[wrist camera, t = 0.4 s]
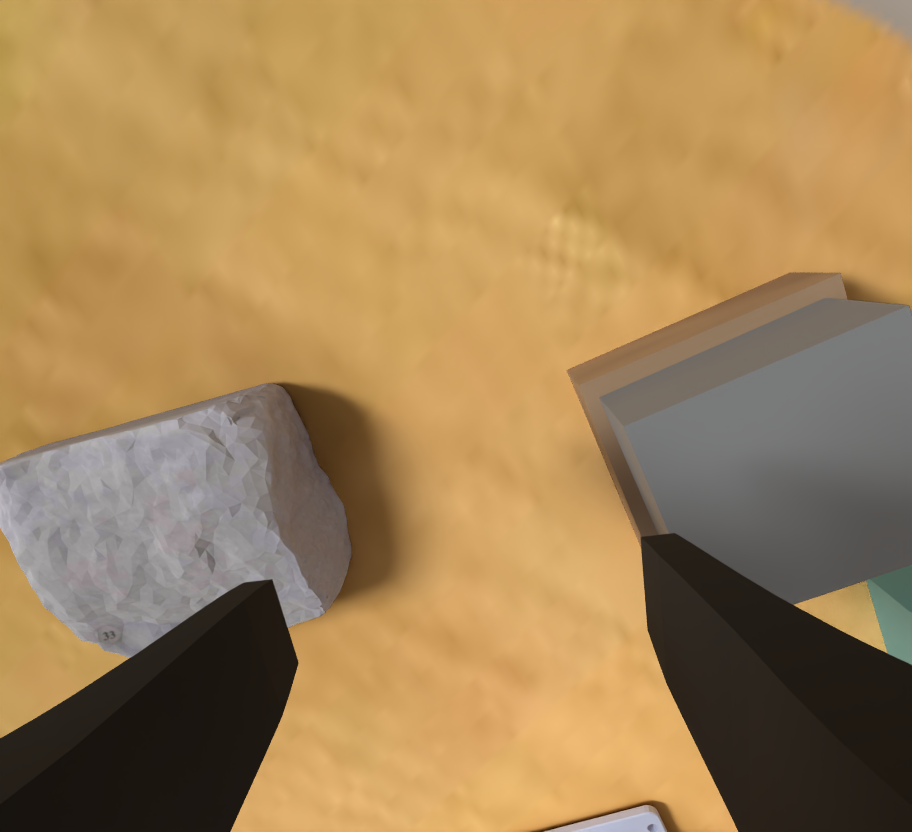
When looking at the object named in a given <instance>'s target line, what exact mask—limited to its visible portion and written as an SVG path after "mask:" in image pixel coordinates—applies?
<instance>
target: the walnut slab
mask: <svg viewBox="0 0 912 832" xmlns="http://www.w3.org/2000/svg"><path fill="white" fill-rule="evenodd" d="M824 298H833V299H844V300H848V299H847V295H846V292H845V288H844V284H843V280H842V276H841V273H788V274H786V275H784V276H781V277H779V278H777V279H775V280H772V281H770V282H768V283H765V284H763V285H761V286H758V287H756V288H754V289H752V290H749V291H747V292H745V293H742V294H740V295H738V296H736V297H733V298H731V299H729V300H726V301H724V302H722V303H720V304H717V305H715V306H713V307H710V308H708V309H706V310H704V311H701V312H699V313H697V314H694V315H692V316H690V317H687V318H685V319H683V320H681V321H678V322H676V323H674V324H671V325H669V326H667V327H665V328H662V329H660V330H658V331H655V332H653V333H651V334H649V335H646V336H644V337H642V338H639V339H637V340H635V341H632V342H630V343H628V344H626V345H623V346H621V347H619V348H616V349H614V350H612V351H610V352H607V353H605V354H603V355H600V356H598V357H596V358H594V359H591V360H589V361H587V362H584V363H582V364H580V365H578V366H575V367H573V368H571V369H568V370H567V372H568V375H569V377H570V379H571V382H572V384H573V386H574V389H575V391H576V394H577V396H578V398H579V401H580V403H581V406H582V408H583V410H584V413H585V415H586V417H587V420H588V422H589V425H590V427H591V429H592V432H593V434H594V437H595V439H596V441H597V444H598V446H599V448H600V451H601V453H602V456H603V458H604V460H605V463H606V465H607V468H608V470H609V472H610V475H611V477H612V479H613V482H614V484H615V487H616V489H617V491H618V494H619V496H620V499H621V501H622V503H623V506H624V508H625V510H626V513H627V515H628V518H629V520H630V522H631V525H632V527H633V530H634V532H635V534H636V537H637V539H638V541H639V544H640V546H641V537H644V536H653V535H658V533H657V531H656V529H655V526H654V524H653V522H652V519H651V517H650V515H649V512H648V510H647V508H646V505H645V503H644V501H643V498H642V496H641V494H640V491H639V489H638V487H637V484H636V482H635V480H634V478H633V475H632V473H631V471H630V468H629V466H628V464H627V461H626V459H625V457H624V454H623V452H622V450H621V447H620V445H619V443H618V440H617V438H616V436H615V433H614V431H613V429H612V427H611V424H610V422H609V420H608V417H607V415H606V413H605V410H604V408H603V406H602V403H601V401H600V399H599V397H601V396H604V395H606V394H608V393H610V392H613V391H615V390H617V389H619V388H622V387H624V386H626V385H629V384H631V383H633V382H635V381H638V380H640V379H642V378H644V377H647V376H649V375H651V374H654V373H656V372H658V371H660V370H663V369H665V368H667V367H669V366H672V365H674V364H676V363H679V362H681V361H683V360H685V359H688V358H690V357H692V356H694V355H697V354H699V353H701V352H704V351H706V350H708V349H710V348H713V347H715V346H717V345H719V344H722V343H724V342H726V341H729V340H731V339H733V338H735V337H738V336H740V335H742V334H744V333H747V332H749V331H751V330H754V329H756V328H758V327H760V326H763V325H765V324H767V323H769V322H772V321H774V320H776V319H779V318H781V317H783V316H785V315H788V314H790V313H792V312H794V311H797V310H799V309H801V308H803V307H806V306H808V305H810V304H813V303H815V302H817V301H819V300H822V299H824Z"/></svg>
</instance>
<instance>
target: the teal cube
mask: <svg viewBox="0 0 912 832" xmlns="http://www.w3.org/2000/svg"><path fill="white" fill-rule="evenodd" d="M866 581H867V584H868V588H869V591H870V595H871V598H872V601H873V605H874V608H875V612H876V615H877V619H878V622H879V625H880V629H881V632H882V636H883V639H884V643H885V646H886V649H887V653H888V654H890V655H892V656H894V657H896V658H898V659H900V660H903V661H905V662H907V663H909V664H911V665H912V565H910V566H907V567H904V568H901V569H898V570H895V571H892V572H889V573H886V574H883V575H880V576H877V577H874V578H871V579H868V580H866Z"/></svg>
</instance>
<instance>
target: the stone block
mask: <svg viewBox="0 0 912 832" xmlns="http://www.w3.org/2000/svg"><path fill="white" fill-rule="evenodd" d="M0 528H1V530H2V532H3V533H4V535H5V536H6V538H7V539H8V541H9V543H10V545H11V548H12V551H13V553H14V555H15V557H16V560H17V562H18V564H19V566H20V568H21V569H22V571H23V572H24V574H25V575H26V577H27V579H28V581H29V583H30V585H31V587H32V589H33V590H35V591H36V593H37V595H38V597H39V599H40V600H41V602H42V604H43V606H44V607H45V608H46V609H47V610H49V611H50V612H51V613H52V614H54V615H55V616H56V617H57V618H58V619H59V620H60V621H61V622H62V623H64V624H65V625H66V626H68V627H69V628H70V629H71V630H72V632H73V633H74V634H75V635H76V636H77V637H78V638H79V639H80V640H81V641H86V642H91V643H96V644H98V645H99V646H100V647H101V648H102V649H103V650H104V651H107V652H111V653H116V654H119V655H123V656H126V657H129V658H131V657H132V656H134V655H135V654H137V653H138V652H140V651H141V650H143V649H144V648H146V647H147V646H148V645H150V644H151V643H153V642H154V641H156V640H157V639H159V638H160V637H162V636H163V635H164V634H166V633H167V632H169V631H170V630H172V629H173V628H175V627H176V626H177V625H179V624H180V623H182V622H183V621H185V620H186V619H188V618H189V617H190V616H192V615H193V614H195V613H196V612H198V611H199V610H201V609H202V608H204V607H205V606H207V605H208V604H210V603H211V602H213V601H214V600H216V599H217V598H219V597H220V596H222V595H223V594H225V593H226V592H228V591H230V590H231V589H233V588H235V587H237V586H238V585H240V584H242V583H244V582H252V581H261V580H269V579H273V583H274V586H275V589H276V592H277V595H278V599H279V602H280V605H281V608H282V611H283V615H284V618H285V621H286V624H287V627H291V626H293V625H295V624H298V623H301V622H305V621H308V620H311V619H313V618H316V617H320V616H321V615H323V614H324V613H326V610H327V609H329V608H330V607H331V604H332V603H333V602H334V600H335V599H336V597H337V595H338V594H339V592H340V591H341V588H342V585H343V584H344V580H345V577H346V575H347V571H348V567H349V562H350V559H351V557H352V550H351V542H350V539H349V534H348V527H347V516H346V514H345V508H344V504H343V503H342V502H341V500H340V499H339V497H338V495H337V494H336V492H335V490H334V489H333V487H332V485H331V484H330V482H329V477H328V476H327V474H326V473H325V472H324V471H323V470H322V469H321V468H320V467H319V465H318V463H317V460H316V457H315V455H314V453H313V449H312V443H311V441H310V439H309V434H308V432H307V430H306V428H305V426H304V424H303V422H302V420H301V418H300V416H299V414H298V412H297V411H296V409H295V407H294V405H293V402H292V399H291V397H290V396H289V394H288V393H287V392H286V390H285V389H284V388H283V387H281V386H279V385H277V384H273V383H266V384H262V385H259V386H256V387H252V388H248V389H245V390H241V391H237V392H234V393H230V394H227V395H223V396H220V397H216V398H213V399H209V400H206V401H202V402H199V403H195V404H191V405H188V406H184V407H181V408H177V409H174V410H170V411H166V412H163V413H159V414H156V415H152V416H149V417H145V418H142V419H138V420H134V421H131V422H128V423H124V424H121V425H118V426H114V427H111V428H107V429H103V430H100V431H96V432H92V433H88V434H84V435H80V436H77V437H74V438H69V439H66V440H63V441H59V442H55V443H51V444H48V445H45V446H41V447H39V448H36V449H33V450H30V451H27V452H24V453H21V454H19V455H17V456H16V457H13V458H10V459H8V460H6V461H3V462H1V463H0Z"/></svg>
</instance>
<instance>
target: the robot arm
mask: <svg viewBox="0 0 912 832" xmlns="http://www.w3.org/2000/svg"><path fill="white" fill-rule="evenodd" d="M641 550H642V563H643V576H644V589H645V602H646V615H647V628H648V632H649V635H650V638H651V641H652V644H653V647H654V650H655V652H656V655H657V658H658V661H659V664H660V667H661V669H662V672H663V675H664V678H665V680H666V683H667V685H668V687H669V689H670V692H671V694H672V696H673V698H674V700H675V702H676V704H677V706H678V708H679V710H680V712H681V714H682V717H683V719H684V721H685V723H686V725H687V727H688V729H689V731H690V733H691V735H692V737H693V739H694V741H695V743H696V745H697V747H698V749H699V751H700V754H701V756H702V758H703V760H704V762H705V764H706V766H707V768H708V770H709V772H710V774H711V776H712V778H713V780H714V782H715V784H716V786H717V788H718V790H719V792H720V794H721V796H722V799H723V801H724V803H725V805H726V807H727V809H728V811H729V813H730V815H731V817H732V819H733V821H734V823H735V825H736V828H737V830H738V832H912V665H911V664H909V663H907V662H905V661H903V660H900V659H898V658H896V657H894V656H892V655H890V654H887V653H885V652H883V651H881V650H879V649H877V648H875V647H872V646H870V645H868V644H866V643H864V642H862V641H860V640H858V639H856V638H854V637H852V636H850V635H848V634H846V633H844V632H842V631H840V630H838V629H837V628H835V627H833V626H831V625H829V624H827V623H825V622H823V621H822V620H820V619H818V618H816V617H814V616H812V615H810V614H809V613H807V612H805V611H803V610H801V609H799V608H797V607H796V606H794V605H792V604H790V603H789V602H787V601H785V600H783V599H782V598H780V597H778V596H776V595H775V594H773V593H771V592H770V591H768V590H766V589H764V588H763V587H761V586H759V585H758V584H756V583H754V582H753V581H751V580H750V579H748V578H746V577H745V576H743V575H741V574H740V573H738V572H736V571H735V570H733V569H732V568H730V567H728V566H727V565H725V564H724V563H722V562H721V561H719V560H717V559H716V558H714V557H713V556H711V555H710V554H708V553H706V552H705V551H703V550H702V549H700V548H699V547H697V546H695V545H694V544H692V543H691V542H689V541H687V540H686V539H684V538H683V537H681V536H679V535H677V534H676V533H670V534H661V535H653V536H644V537H641ZM297 666H298V660H297V656H296V653H295V650H294V647H293V644H292V640H291V637H290V634H289V631H288V627H287V624H286V621H285V618H284V615H283V611H282V608H281V605H280V602H279V599H278V595H277V592H276V589H275V586H274V583H273V579H269V580H261V581H252V582H244V583H242V584H240V585H238V586H237V587H235V588H233V589H231V590H230V591H228V592H226V593H225V594H223V595H222V596H220V597H219V598H217V599H216V600H214V601H213V602H211V603H210V604H208V605H207V606H205V607H204V608H202V609H201V610H199V611H198V612H196V613H195V614H193V615H192V616H190V617H189V618H188V619H186V620H185V621H183V622H182V623H180V624H179V625H177V626H176V627H175V628H173V629H172V630H170V631H169V632H167V633H166V634H164V635H163V636H162V637H160V638H159V639H157V640H156V641H154V642H153V643H151V644H150V645H148V646H147V647H146V648H144V649H143V650H141V651H140V652H138V653H137V654H135V655H134V656H132V657H131V658H129V659H128V660H126V661H125V662H123V663H122V664H120V665H119V666H117V667H116V668H114V669H112V670H111V671H109V672H108V673H106V674H105V675H103V676H102V677H100V678H99V679H97V680H96V681H94V682H93V683H91V684H90V685H88V686H87V687H85V688H84V689H82V690H80V691H79V692H77V693H76V694H74V695H73V696H71V697H70V698H68V699H66V700H65V701H63V702H62V703H60V704H58V705H57V706H55V707H53V708H52V709H50V710H48V711H47V712H45V713H43V714H42V715H40V716H38V717H37V718H35V719H33V720H32V721H30V722H28V723H27V724H25V725H23V726H21V727H20V728H18V729H16V730H14V731H13V732H11V733H9V734H7V735H6V736H4V737H2V738H0V832H230V831H231V829H232V827H233V824H234V822H235V820H236V818H237V816H238V813H239V811H240V809H241V807H242V805H243V802H244V800H245V798H246V796H247V794H248V791H249V789H250V787H251V785H252V783H253V780H254V778H255V776H256V774H257V772H258V769H259V767H260V765H261V763H262V761H263V758H264V756H265V754H266V752H267V749H268V747H269V745H270V743H271V740H272V738H273V736H274V734H275V731H276V729H277V727H278V724H279V722H280V720H281V717H282V715H283V712H284V709H285V706H286V703H287V700H288V697H289V694H290V691H291V687H292V684H293V680H294V677H295V673H296V670H297ZM544 832H667V829H666V827H665V825H664V823H663V821H662V819H661V817H660V815H659V813H658V811H657V809H656V808H655V807H653V806H650V805H643V806H640V807H636V808H632V809H628V810H624V811H620V812H617V813H613V814H609V815H605V816H601V817H598V818H594V819H590V820H586V821H582V822H578V823H575V824H571V825H567V826H563V827H559V828H556V829H552V830H548V831H544Z"/></svg>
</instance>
